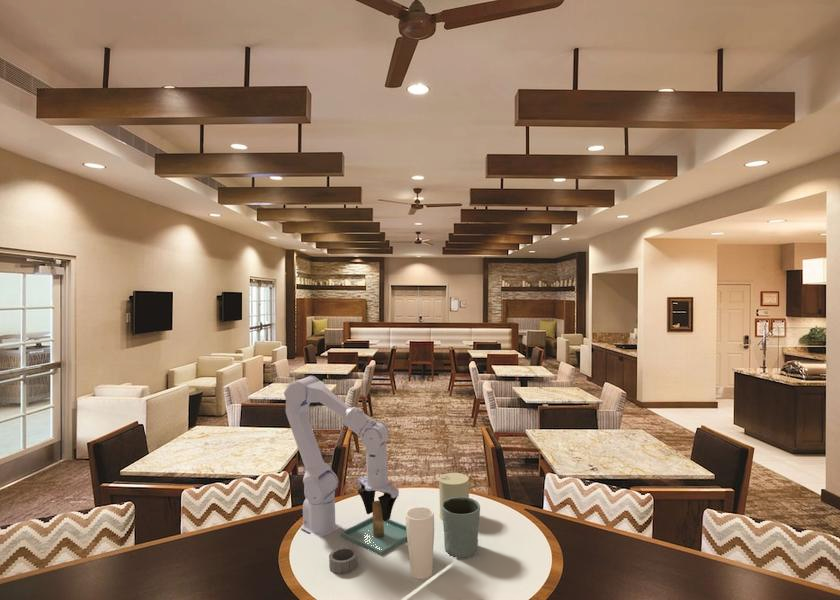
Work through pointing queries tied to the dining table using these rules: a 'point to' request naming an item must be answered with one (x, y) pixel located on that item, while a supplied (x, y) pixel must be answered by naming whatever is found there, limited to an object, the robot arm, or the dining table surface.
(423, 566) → the drinking glass
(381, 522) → the pin
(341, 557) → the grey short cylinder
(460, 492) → the can
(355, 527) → the tray
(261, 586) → the dining table surface
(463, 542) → the green cup
